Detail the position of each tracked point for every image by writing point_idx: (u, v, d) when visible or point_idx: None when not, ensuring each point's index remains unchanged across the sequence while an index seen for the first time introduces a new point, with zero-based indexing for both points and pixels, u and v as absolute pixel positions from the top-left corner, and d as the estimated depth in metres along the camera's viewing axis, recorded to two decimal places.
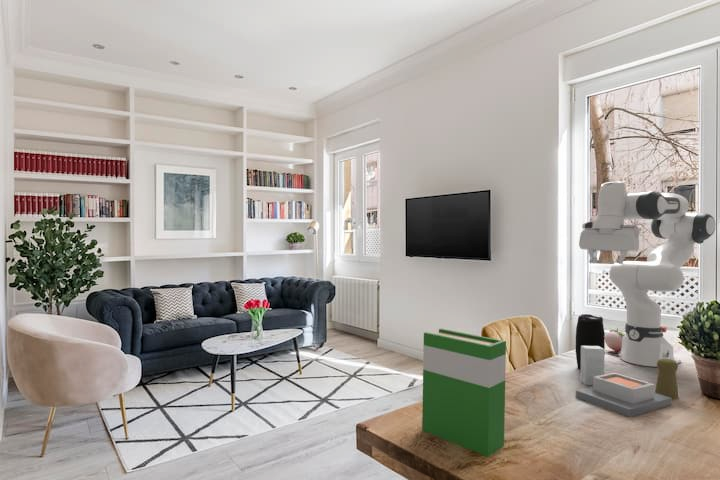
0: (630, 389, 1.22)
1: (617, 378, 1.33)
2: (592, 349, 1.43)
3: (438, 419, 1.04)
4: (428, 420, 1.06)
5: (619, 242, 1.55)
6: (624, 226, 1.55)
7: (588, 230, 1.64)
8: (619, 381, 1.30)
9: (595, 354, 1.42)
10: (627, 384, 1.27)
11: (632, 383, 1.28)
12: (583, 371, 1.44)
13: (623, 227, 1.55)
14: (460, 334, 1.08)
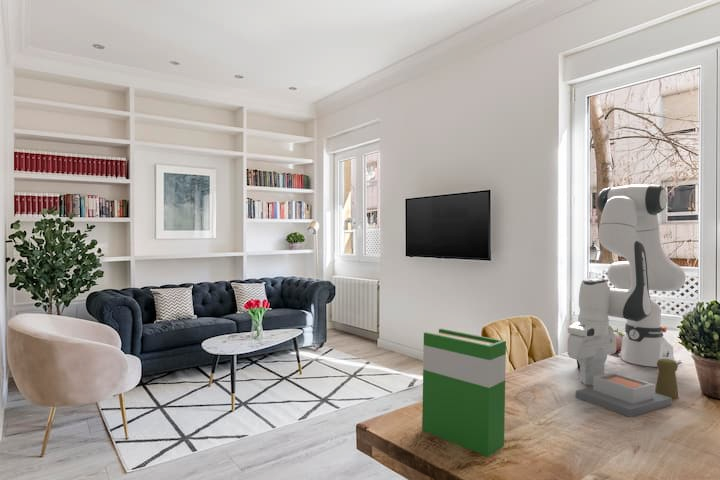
0: (630, 389, 1.22)
1: (617, 378, 1.33)
2: None
3: (438, 419, 1.04)
4: (428, 420, 1.06)
5: (607, 346, 1.45)
6: None
7: (588, 338, 1.39)
8: (619, 381, 1.30)
9: None
10: (627, 384, 1.27)
11: (632, 383, 1.28)
12: None
13: None
14: (460, 334, 1.08)
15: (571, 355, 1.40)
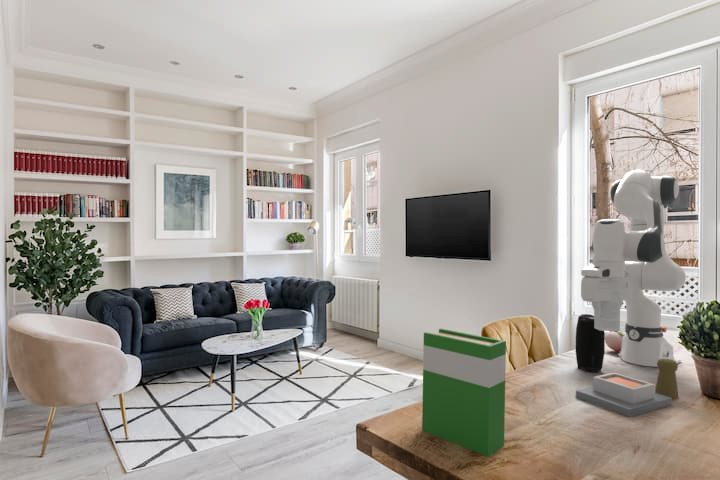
0: (630, 389, 1.22)
1: (617, 378, 1.33)
2: None
3: (438, 419, 1.04)
4: (428, 420, 1.06)
5: (623, 291, 1.37)
6: None
7: (603, 279, 1.31)
8: (619, 381, 1.30)
9: None
10: (627, 384, 1.27)
11: (632, 383, 1.28)
12: (597, 316, 1.36)
13: None
14: (460, 334, 1.08)
15: (585, 297, 1.32)
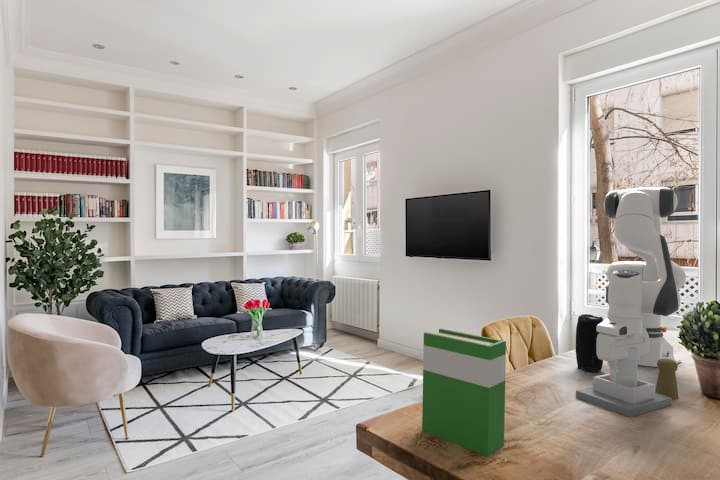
0: (630, 389, 1.22)
1: None
2: None
3: (438, 419, 1.04)
4: (428, 420, 1.06)
5: (640, 346, 1.30)
6: None
7: (620, 337, 1.24)
8: None
9: None
10: None
11: None
12: None
13: None
14: (460, 334, 1.08)
15: (601, 356, 1.25)
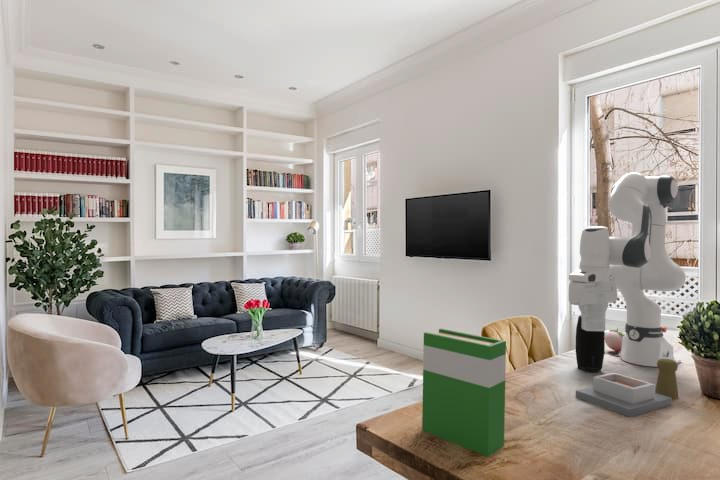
0: (630, 389, 1.22)
1: None
2: None
3: (438, 419, 1.04)
4: (428, 420, 1.06)
5: (608, 294, 1.45)
6: None
7: (589, 283, 1.39)
8: None
9: None
10: None
11: None
12: None
13: None
14: (460, 334, 1.08)
15: (572, 301, 1.40)
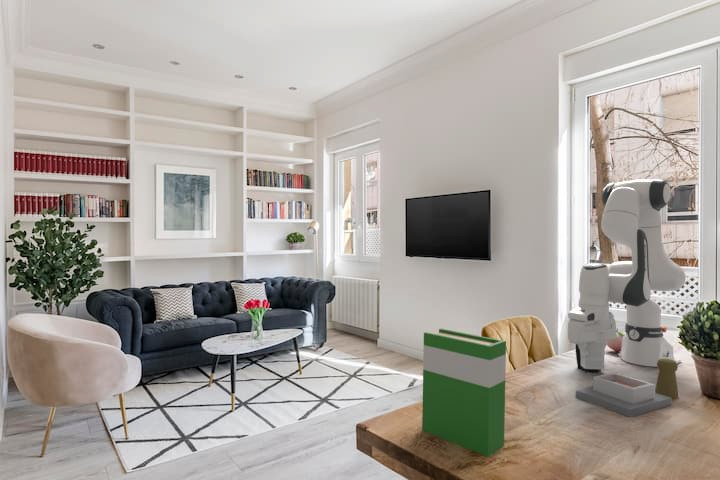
0: (630, 389, 1.22)
1: None
2: None
3: (438, 419, 1.04)
4: (428, 420, 1.06)
5: (607, 332, 1.45)
6: None
7: (588, 322, 1.39)
8: None
9: None
10: None
11: None
12: None
13: None
14: (460, 334, 1.08)
15: (571, 340, 1.40)
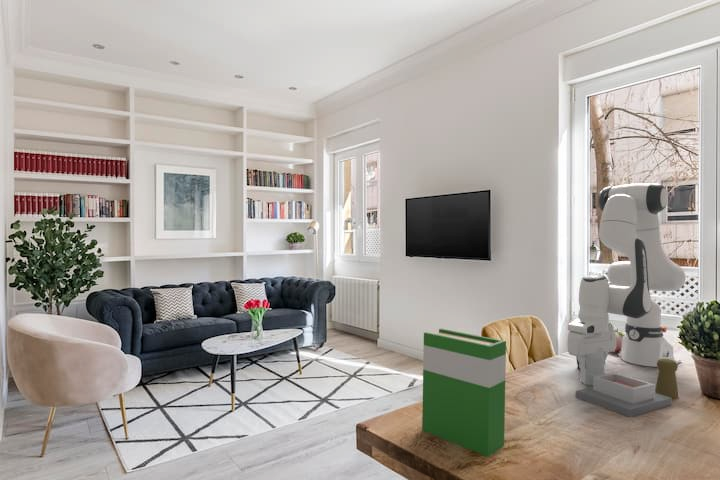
0: (630, 389, 1.22)
1: None
2: None
3: (438, 419, 1.04)
4: (428, 420, 1.06)
5: (607, 343, 1.45)
6: None
7: (588, 335, 1.39)
8: None
9: (595, 354, 1.43)
10: None
11: None
12: (583, 370, 1.44)
13: None
14: (460, 334, 1.08)
15: (571, 352, 1.40)
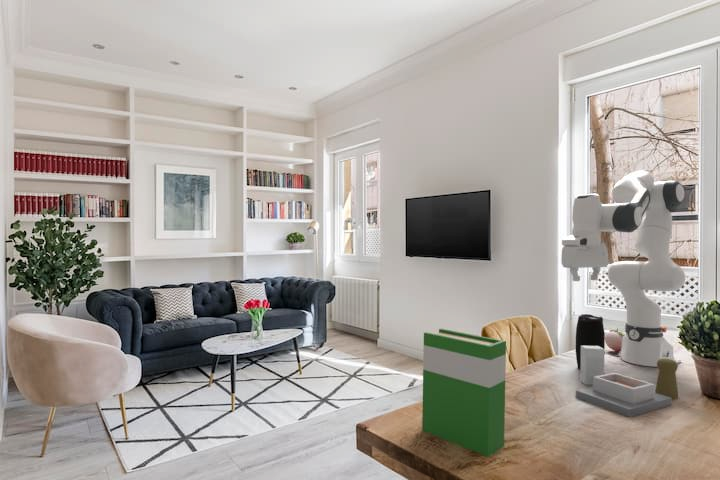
0: (630, 389, 1.22)
1: None
2: (592, 349, 1.43)
3: (438, 419, 1.04)
4: (428, 420, 1.06)
5: (599, 259, 1.52)
6: None
7: (581, 247, 1.46)
8: None
9: (595, 354, 1.43)
10: None
11: None
12: (583, 370, 1.44)
13: None
14: (460, 334, 1.08)
15: (565, 264, 1.47)
